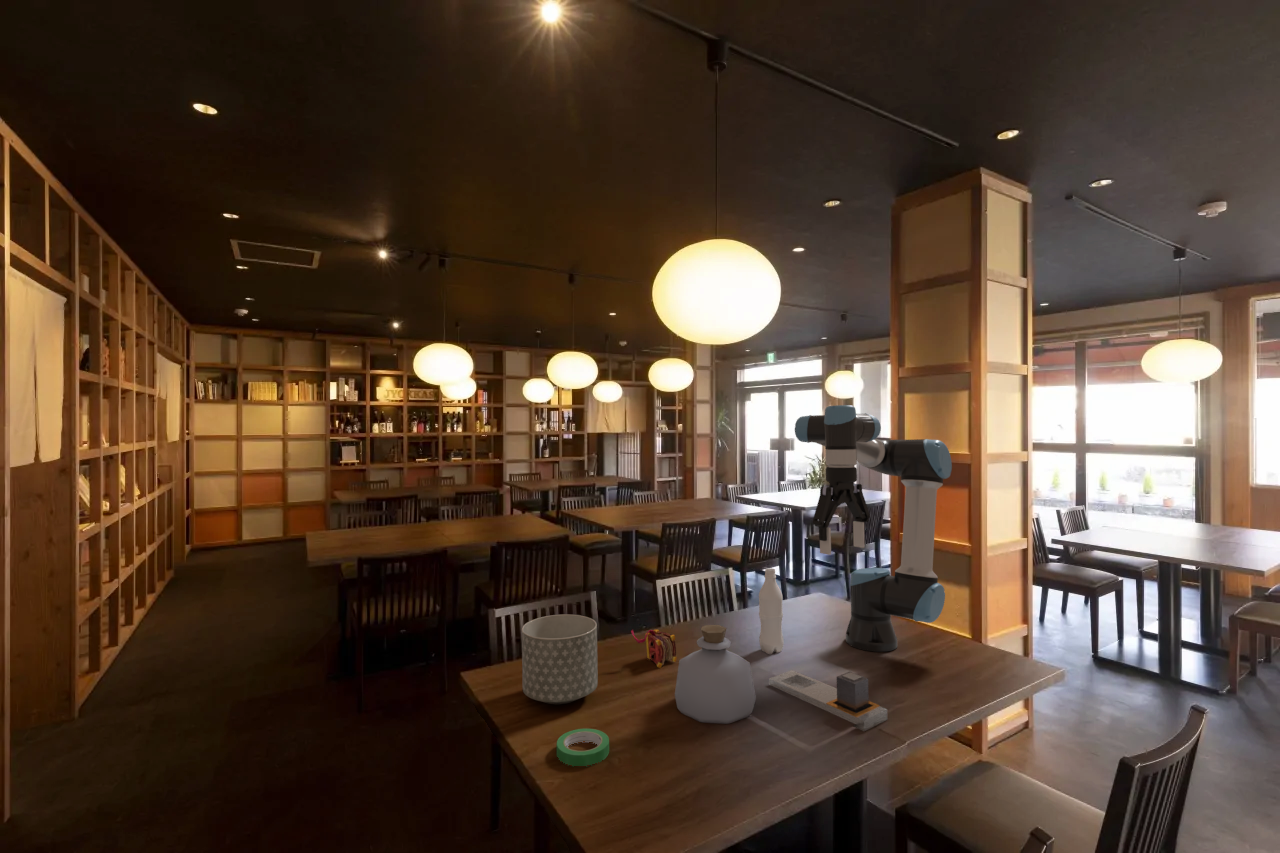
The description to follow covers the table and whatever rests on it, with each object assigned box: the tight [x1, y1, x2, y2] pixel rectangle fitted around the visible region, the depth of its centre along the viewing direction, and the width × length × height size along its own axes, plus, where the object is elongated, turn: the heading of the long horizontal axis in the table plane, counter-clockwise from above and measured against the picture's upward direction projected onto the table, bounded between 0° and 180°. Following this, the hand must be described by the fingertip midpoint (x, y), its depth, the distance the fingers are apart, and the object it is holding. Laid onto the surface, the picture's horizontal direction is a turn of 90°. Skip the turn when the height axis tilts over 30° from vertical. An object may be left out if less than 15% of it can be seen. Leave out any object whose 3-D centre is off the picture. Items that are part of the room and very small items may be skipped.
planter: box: [521, 614, 599, 705], centre depth 149 cm, size 19×19×18 cm
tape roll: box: [556, 728, 610, 767], centre depth 123 cm, size 11×11×3 cm
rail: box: [768, 669, 888, 732], centre depth 143 cm, size 9×28×3 cm, turn 35°
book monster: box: [630, 629, 678, 669], centre depth 170 cm, size 11×9×12 cm
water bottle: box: [758, 567, 785, 655], centre depth 178 cm, size 7×7×25 cm
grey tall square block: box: [836, 671, 870, 713], centre depth 137 cm, size 5×5×8 cm
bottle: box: [674, 624, 757, 725], centre depth 143 cm, size 20×20×19 cm
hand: (842, 550), depth 147 cm, fingers open, 13 cm apart
